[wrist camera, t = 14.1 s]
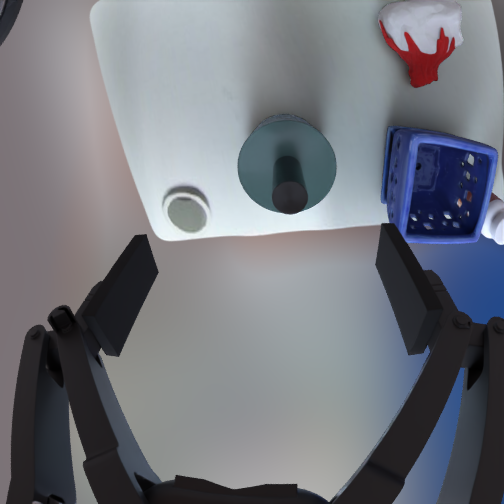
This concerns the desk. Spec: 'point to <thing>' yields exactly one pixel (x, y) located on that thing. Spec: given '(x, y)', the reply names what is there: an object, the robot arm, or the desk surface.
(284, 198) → the lid
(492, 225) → the pill bottle
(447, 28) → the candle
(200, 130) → the desk surface
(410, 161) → the flower pot
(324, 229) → the desk surface
